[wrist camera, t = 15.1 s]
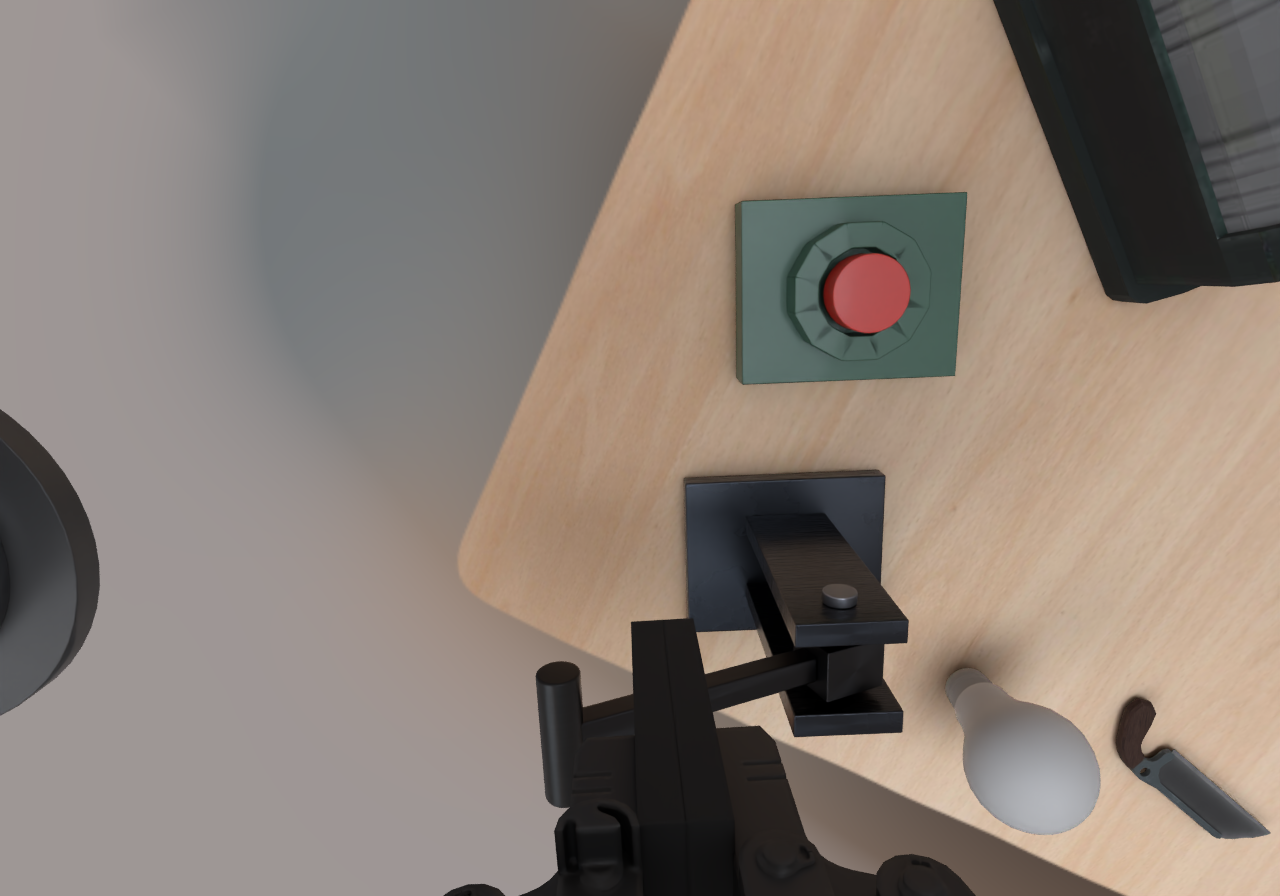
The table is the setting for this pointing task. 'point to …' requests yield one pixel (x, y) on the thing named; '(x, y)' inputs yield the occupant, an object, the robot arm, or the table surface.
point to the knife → (1181, 779)
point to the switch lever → (816, 667)
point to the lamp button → (867, 292)
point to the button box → (797, 271)
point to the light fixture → (1161, 134)
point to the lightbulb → (1023, 758)
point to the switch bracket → (796, 578)
